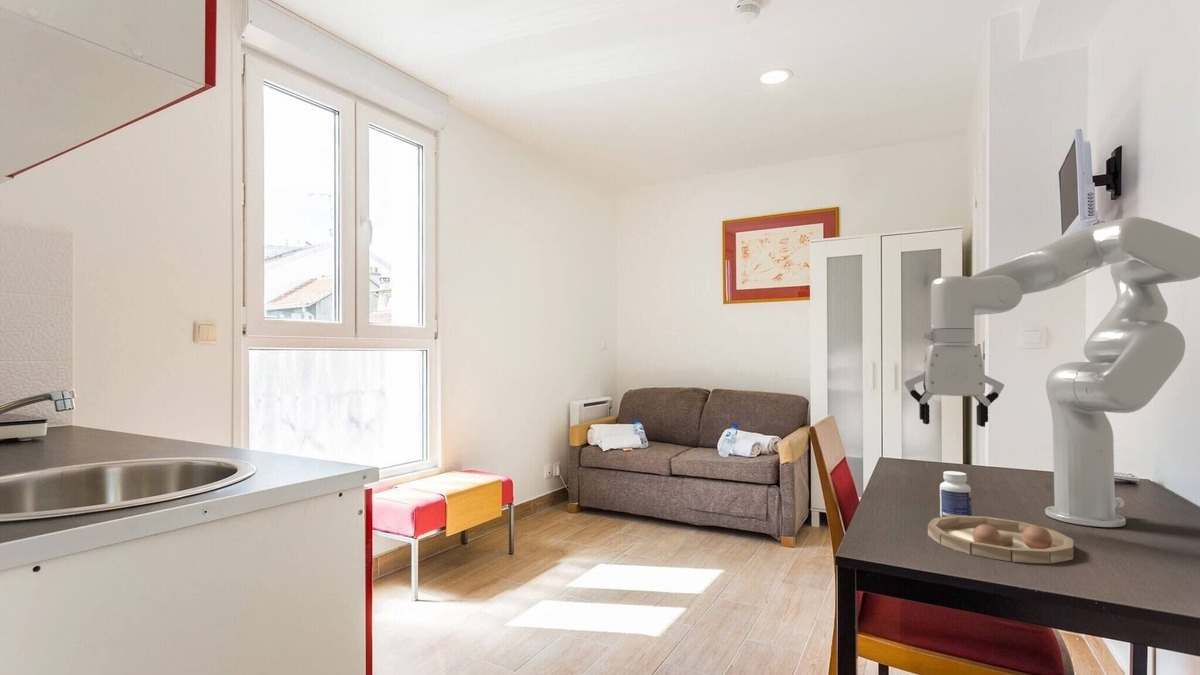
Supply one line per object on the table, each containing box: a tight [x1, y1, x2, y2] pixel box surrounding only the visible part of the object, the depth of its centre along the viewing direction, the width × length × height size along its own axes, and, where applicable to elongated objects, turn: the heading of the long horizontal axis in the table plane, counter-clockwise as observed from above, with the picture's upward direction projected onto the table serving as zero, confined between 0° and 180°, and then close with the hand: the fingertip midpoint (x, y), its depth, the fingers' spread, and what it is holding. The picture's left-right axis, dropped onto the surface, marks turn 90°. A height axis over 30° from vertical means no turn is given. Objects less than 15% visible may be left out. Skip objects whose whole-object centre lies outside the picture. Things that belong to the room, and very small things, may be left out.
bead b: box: [1022, 524, 1052, 549], centre depth 99 cm, size 4×4×4 cm
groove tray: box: [927, 515, 1074, 564], centre depth 103 cm, size 20×20×3 cm
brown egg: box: [972, 524, 1001, 546], centre depth 99 cm, size 4×4×4 cm
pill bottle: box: [939, 470, 973, 517], centre depth 119 cm, size 5×5×10 cm
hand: (953, 424), depth 119 cm, fingers open, 9 cm apart
